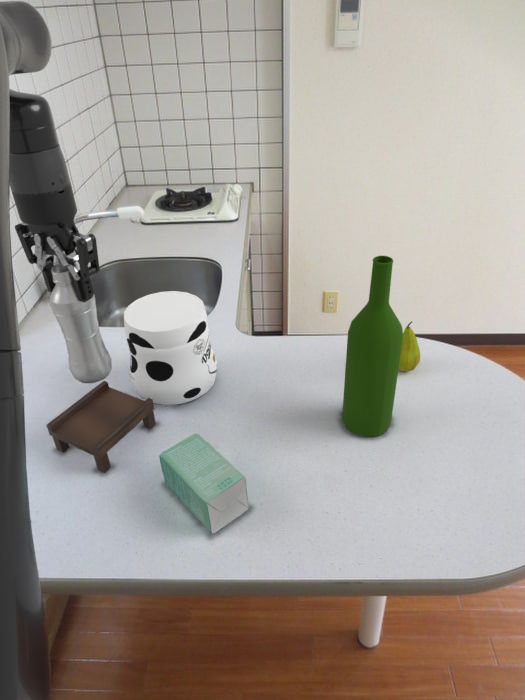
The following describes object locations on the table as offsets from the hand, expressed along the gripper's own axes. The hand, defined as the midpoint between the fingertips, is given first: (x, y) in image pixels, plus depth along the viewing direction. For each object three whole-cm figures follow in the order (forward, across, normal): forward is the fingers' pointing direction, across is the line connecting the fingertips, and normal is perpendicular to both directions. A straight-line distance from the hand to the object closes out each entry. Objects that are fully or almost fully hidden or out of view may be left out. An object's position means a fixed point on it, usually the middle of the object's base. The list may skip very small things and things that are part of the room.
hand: (71, 294), depth 79 cm
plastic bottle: (+16, 0, 0) cm, 16 cm away
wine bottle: (+30, +39, +26) cm, 56 cm away
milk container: (+30, +1, +18) cm, 35 cm away
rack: (+30, -1, 0) cm, 30 cm away
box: (+30, +23, -2) cm, 38 cm away
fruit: (+30, +40, +45) cm, 67 cm away
